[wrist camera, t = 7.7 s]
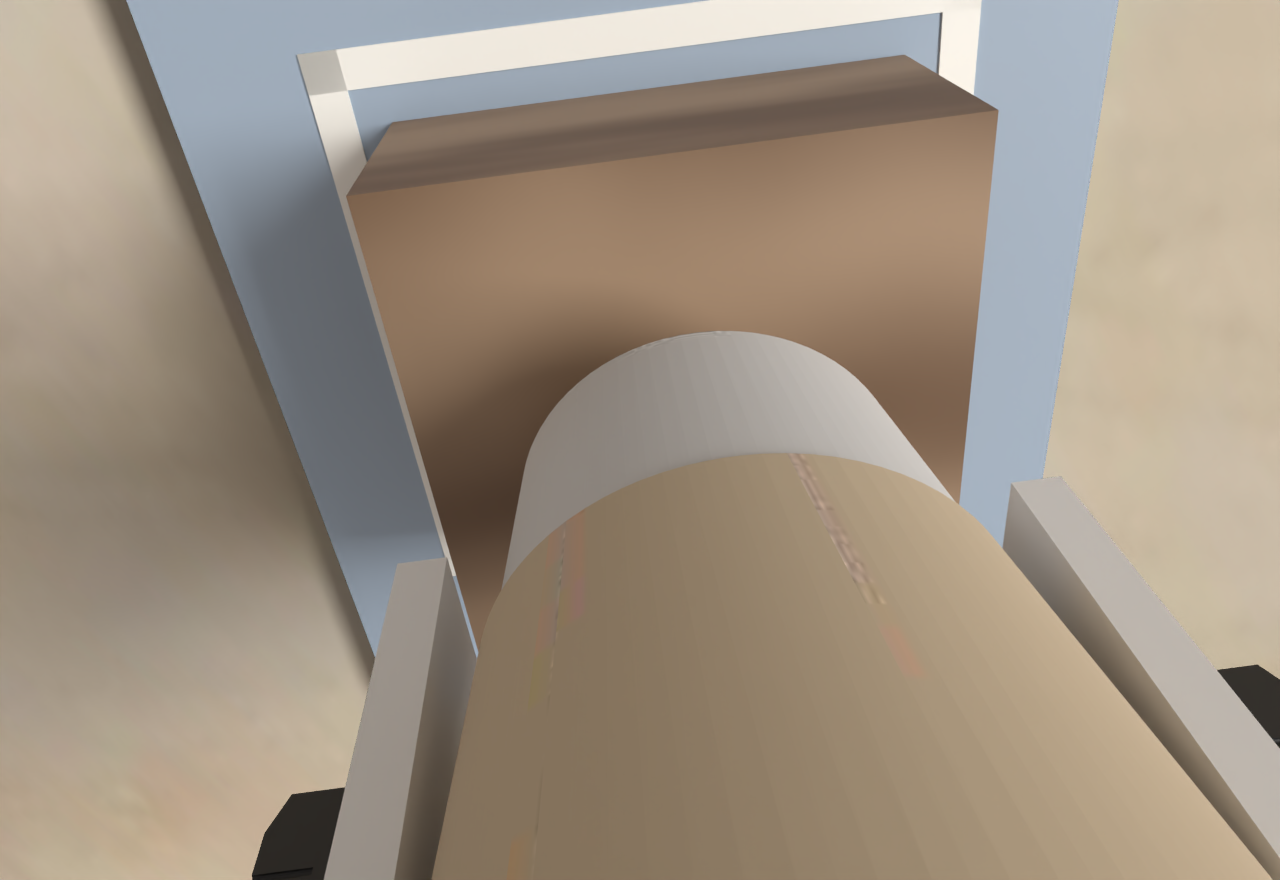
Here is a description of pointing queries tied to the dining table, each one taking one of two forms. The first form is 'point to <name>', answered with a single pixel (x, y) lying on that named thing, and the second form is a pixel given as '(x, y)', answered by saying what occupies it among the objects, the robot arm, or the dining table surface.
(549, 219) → the walnut base block
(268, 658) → the dining table surface
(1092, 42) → the board
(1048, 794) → the coffee cup
